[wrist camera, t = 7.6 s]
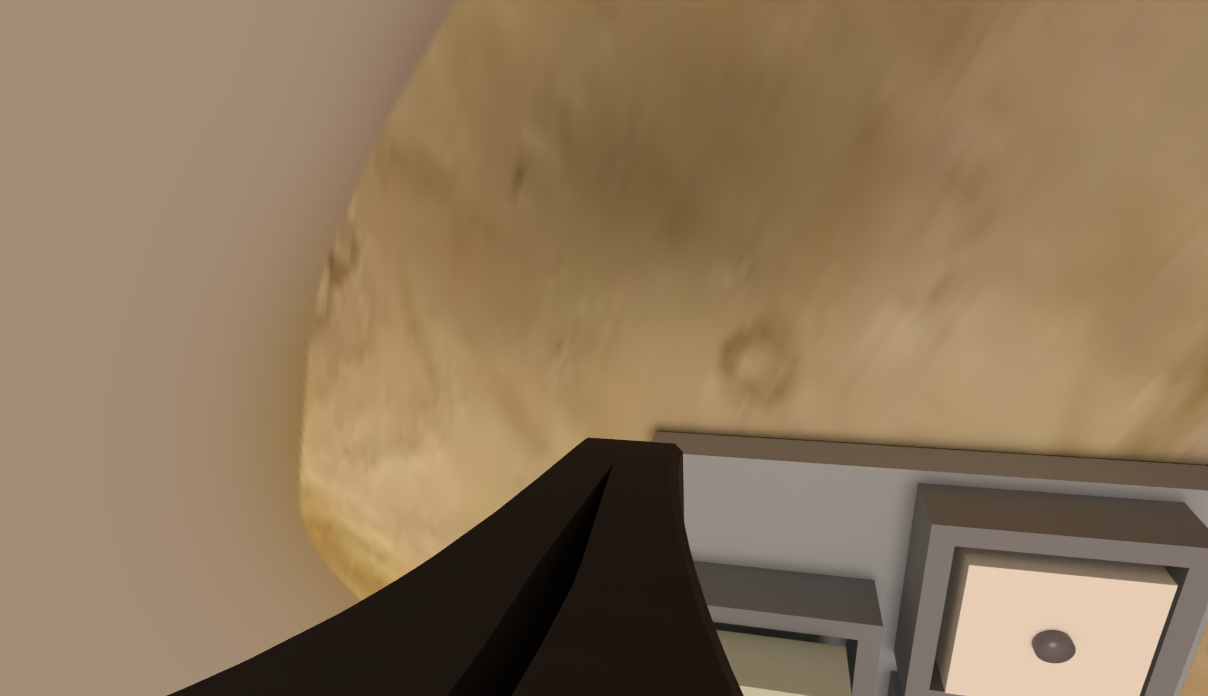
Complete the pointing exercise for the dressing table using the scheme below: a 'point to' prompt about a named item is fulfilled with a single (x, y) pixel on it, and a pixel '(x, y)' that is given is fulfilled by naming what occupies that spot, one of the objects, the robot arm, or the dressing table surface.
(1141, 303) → the dressing table surface
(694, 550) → the stacking puzzle board
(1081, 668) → the tile ivory
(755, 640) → the tile sage
